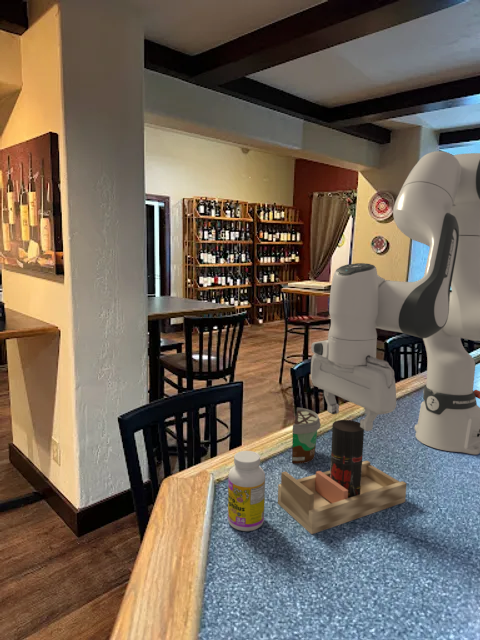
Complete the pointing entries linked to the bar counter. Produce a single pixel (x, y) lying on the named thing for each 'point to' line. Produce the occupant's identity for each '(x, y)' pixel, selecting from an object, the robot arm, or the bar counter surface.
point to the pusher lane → (324, 514)
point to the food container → (304, 436)
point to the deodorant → (347, 455)
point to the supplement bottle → (246, 492)
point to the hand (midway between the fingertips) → (348, 420)
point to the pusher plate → (329, 488)
